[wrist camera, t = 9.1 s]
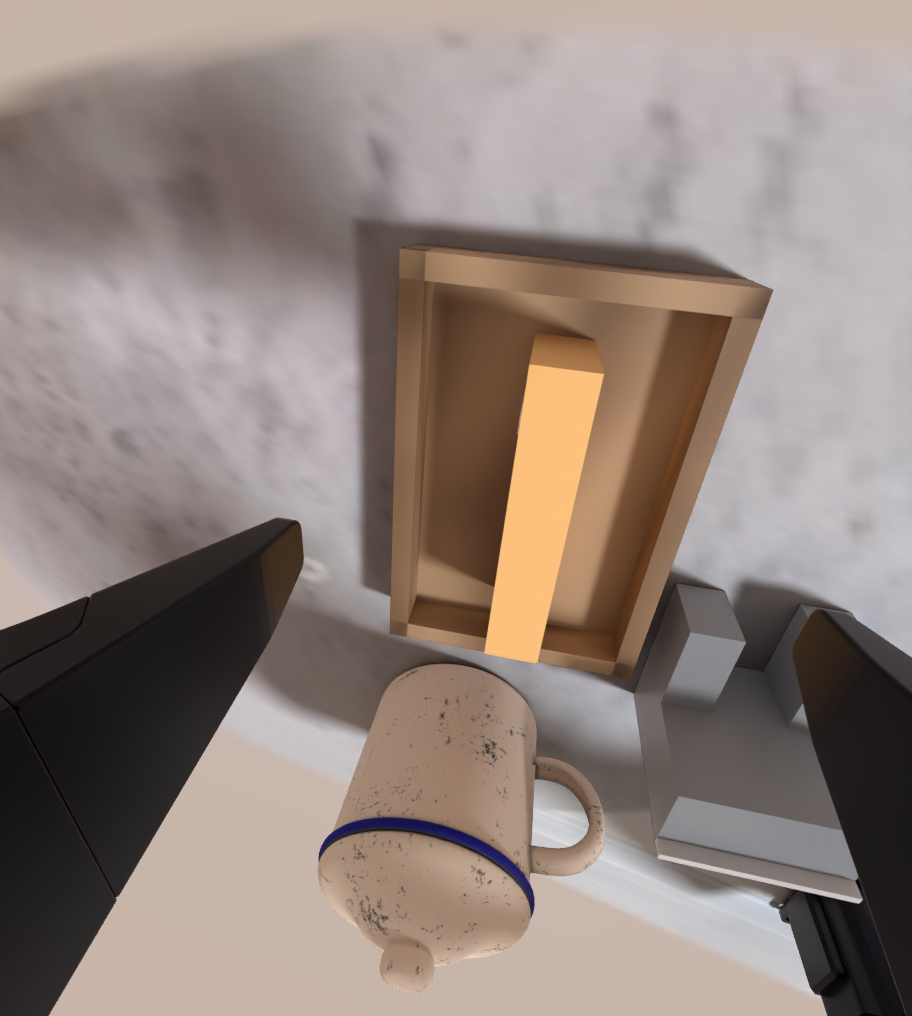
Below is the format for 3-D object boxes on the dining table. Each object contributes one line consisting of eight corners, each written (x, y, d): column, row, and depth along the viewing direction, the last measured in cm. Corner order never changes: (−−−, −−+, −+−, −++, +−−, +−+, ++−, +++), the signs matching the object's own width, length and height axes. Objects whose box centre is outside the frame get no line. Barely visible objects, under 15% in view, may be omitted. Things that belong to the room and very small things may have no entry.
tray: (748, 279, 16) (773, 289, 15) (625, 642, 24) (630, 679, 23) (416, 243, 18) (399, 248, 16) (402, 602, 26) (389, 633, 24)
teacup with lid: (395, 763, 32) (320, 1013, 22) (362, 653, 28) (251, 904, 18) (598, 778, 30) (616, 1069, 20) (597, 660, 25) (619, 957, 15)
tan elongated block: (597, 340, 18) (605, 374, 14) (542, 595, 23) (538, 663, 20) (534, 332, 18) (527, 364, 14) (494, 587, 23) (482, 653, 20)
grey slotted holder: (851, 612, 22) (974, 788, 15) (783, 723, 25) (858, 903, 19) (676, 583, 22) (722, 738, 16) (633, 694, 26) (657, 858, 19)
